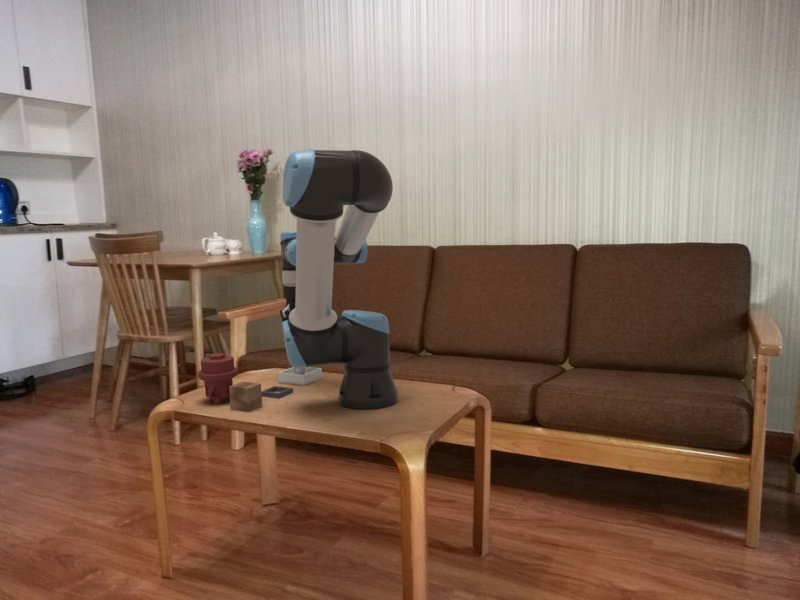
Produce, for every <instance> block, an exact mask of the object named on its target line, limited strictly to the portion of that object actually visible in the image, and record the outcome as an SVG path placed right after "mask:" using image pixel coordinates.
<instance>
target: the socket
mask: <svg viewBox="0 0 800 600" xmlns="http://www.w3.org/2000/svg"><path fill="white" fill-rule="evenodd" d="M261 392H262V397H264V398H265V397H266V398H273V399H274V398H275V399H280V398H283V397H286V396H287V395H290V394H292V393H294V389H293V387H286V386H280V385H279V386H278V385H277V386H276V385H273V386H271V387H268V388H265V389H263V390H261Z"/></svg>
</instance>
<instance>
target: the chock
mask: <svg viewBox="0 0 800 600" xmlns="http://www.w3.org/2000/svg"><path fill="white" fill-rule="evenodd" d="M261 391H262V383H258V382H249V381H248V382H247V381H240V382H237V383H233V385H231V386H229V394H230V400H229V405H230V410H231V411H233V410H234V411H240V412H245V413H251V412H252V411H254V410H257V409H260V408H261V407H263V396H262V392H261Z"/></svg>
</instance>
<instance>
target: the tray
mask: <svg viewBox="0 0 800 600" xmlns="http://www.w3.org/2000/svg"><path fill="white" fill-rule="evenodd" d="M322 379H323V368H322V367H315V366H310V367H308V368H307V367H305V374H304V375H300V374H295V372H294V367H293V366H291V367H289V368H287V369H283V370H281V371H279V372H277V383H278V384H286V385H293V386H294V385H295V386H302V387H303V386H304V387H305V386H307V385H310V384H311V383H315V382H317V381H319V380H322Z"/></svg>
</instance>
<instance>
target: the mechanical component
mask: <svg viewBox="0 0 800 600" xmlns="http://www.w3.org/2000/svg"><path fill="white" fill-rule="evenodd" d="M234 358H235V357H234V356H233V355H227V354H225V353H222V352H219V353H218V352H217V353H212V354H209V355H208V356H206V357H203V358H202V359H201V360H200V369H199V371H198V372H197V376H198V379H200V380H201V381H204V389H205V390H204V392H205V398H207V399H208V398H209V401H213V402H214V404H215V405H220V404H222V403H224V402H226V401H230V394H229V386H231V385H234V382H233V378H236V377H237V376H238V375H239V371H238V368H237V367H235V359H234Z"/></svg>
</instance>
